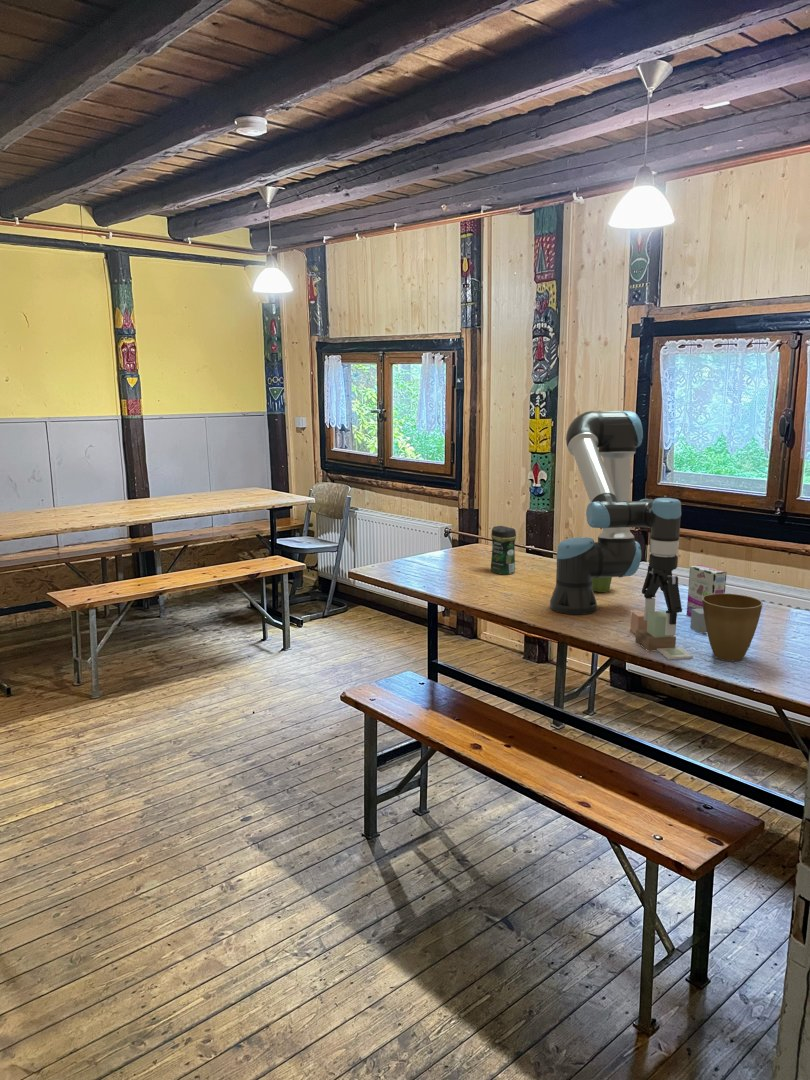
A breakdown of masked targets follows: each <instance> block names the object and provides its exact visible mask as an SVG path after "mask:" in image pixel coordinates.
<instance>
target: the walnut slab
mask: <svg viewBox="0 0 810 1080" xmlns="http://www.w3.org/2000/svg"><path fill="white" fill-rule="evenodd" d="M676 639H677V637H676V635H672V637H657V638H655V637H653V636H652V635H650V634H649V633H648V632H647V629H640V630H636V634H635V643H637V644H638V643H639V644H640V645H639V644H638V645H639V646H641V645H642V646H643V647H644V649H645V650H646V649H647V650H657V648H676V641H677V640H676ZM642 646H641V647H642ZM643 647H642V648H643ZM647 650H646V651H647Z"/></svg>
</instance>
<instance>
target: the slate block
mask: <svg viewBox="0 0 810 1080" xmlns="http://www.w3.org/2000/svg"><path fill="white" fill-rule="evenodd" d="M689 627H690V629H691V628H692V629H691V630H693V631H695V632H697V634H703V633H704V632H707V630H706V625H705V619H704V612H703V609H692V610H691V617H690V626H689ZM704 634H705V633H704Z"/></svg>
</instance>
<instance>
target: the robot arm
mask: <svg viewBox="0 0 810 1080" xmlns="http://www.w3.org/2000/svg"><path fill="white" fill-rule="evenodd" d="M643 430H644V429H643V424H642V421H641V419H640V417H639V415H638V414H637V413H636V412H634V411H630V410H605V411H604V410H601V411H599V410H597V411H596V410H590V411H585V412H583V413H581V414H578V416H576V417H575V418H574V419H573V420H572V422H571V423H570V424H569V426H568V429H567V431H566V435H565V436H566V437H565V441H566V446H567V450H568V452H569V454H570V455H571V456H573V457H574V460H575V463H576V465H577V468H578V471H579V474H580V477H581V480H582V482H583V485H584V488H585V491H586V494H587V497H588V500H589V503H588V504H587V506H586V513H585V516H586V522H587V524H588V526H589V527H591V528H594V529H595V528H596V529H602V532H601V533H599V534H598V536H597V541H594V538H591V537H589V536H588V537H586V536H585V537H581V536H580V537H571V538H566V539H564V540H561V542H559V543H558V545H557V551H556V577H555V579H556V580H555V587H554V588H553V592H552V596H551V597H550V600H549V608H550V609H551V611H554V612H557V613H560V614H566V615H574V616H575V615H577V616H578V615H579V616H581V615H588V614H593V613H595V612H596V611H597V607H598V605H597V604H598V603H597V600H596V596H595V593H594V592H595V591H593V589H592V578H596V577H612V578H623V577H631V576H633V575H635V574H636V573H637V572H638V570H639V568H640V565H641V561H642V560H641V559H642V549H641V548H642V547H641V544H640V543H639V542H638V541H636V540H635V535H634V534H633V533H632V532H631V529H630V528H649V529H650V539H649V556H648V557H649V558H648V567H647V572H646V576H645V579H644V583H643V586H642V589H641V594H642V595H643V597H644V610H643V611H644V620H645V621H647V619H648V612H652V611H656V610H655V608H656V593H657V592H658V590H659V588H660V591H661V592H662V594H663V597H664V600H665V605H666V609H667V610H666V625H665V635H674V636H676V631H677V621H678V620H677V618H678V613H682V611H683V609H682V602H681V596H680V589H679V587H680V586H679V577H678V575H677V576H676V575H673V571H675V570H676V569H677V568H678V561H679V557H678V553H679V546H680V532H681V531H680V530H681V521H682V520H681V519H682V518H681V517H682V502H681V500H679V499H677V498H672V497H657V498H654V499H651V498H643V499H640V500H635V501H634V500H631V467H632V466H631V462H632V461H631V460H632V459H631V458H632V456H633V455H635V454H636V453H637V452H636V450H637V448H639V447H640V446H641V445H642V443H643V439H644V431H643Z"/></svg>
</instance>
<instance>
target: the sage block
mask: <svg viewBox="0 0 810 1080" xmlns="http://www.w3.org/2000/svg"><path fill="white" fill-rule="evenodd" d="M666 611H667V610H666ZM666 611H665V610H658V611H656V610H655V611H652V612H648V619H647V632H648V633H649V634H650V635H652V636H653V637H655V638H657V637H672V635H665V625H666Z"/></svg>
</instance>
